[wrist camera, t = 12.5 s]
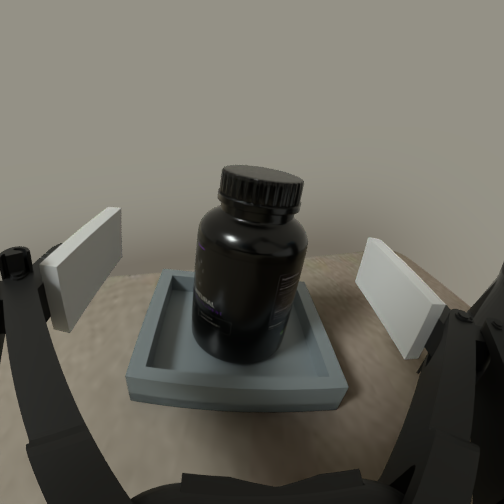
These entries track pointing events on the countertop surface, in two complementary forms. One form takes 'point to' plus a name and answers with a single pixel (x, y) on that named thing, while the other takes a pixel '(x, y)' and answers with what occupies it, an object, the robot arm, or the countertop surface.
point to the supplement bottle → (248, 264)
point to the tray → (229, 374)
